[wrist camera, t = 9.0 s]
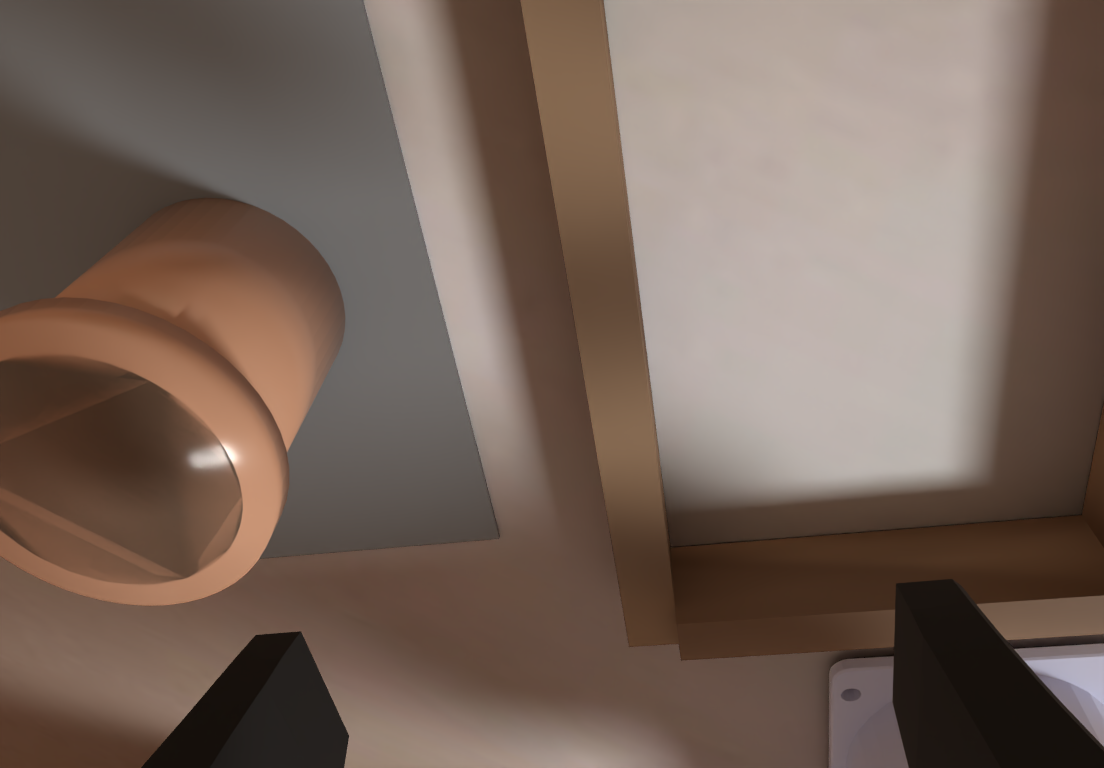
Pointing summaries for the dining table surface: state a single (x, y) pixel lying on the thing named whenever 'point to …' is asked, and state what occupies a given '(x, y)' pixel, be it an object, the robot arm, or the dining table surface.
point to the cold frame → (633, 456)
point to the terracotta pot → (163, 404)
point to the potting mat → (272, 185)
